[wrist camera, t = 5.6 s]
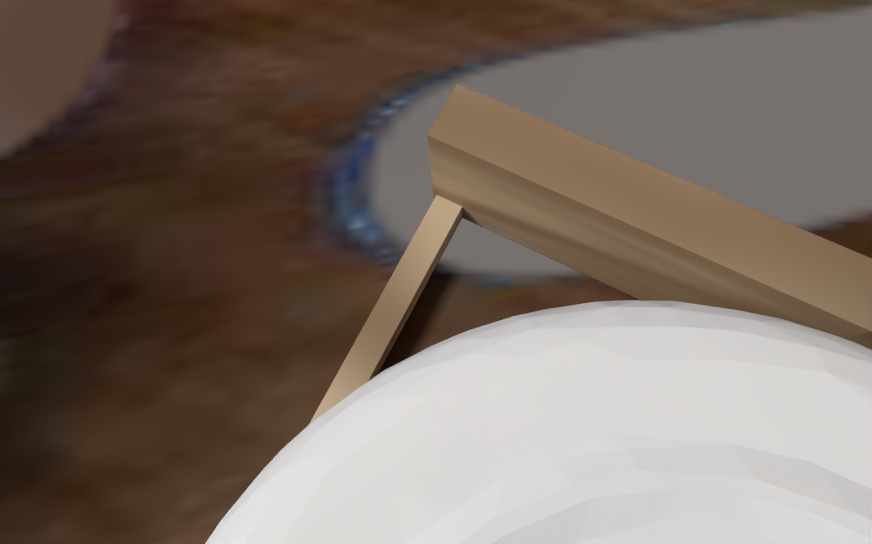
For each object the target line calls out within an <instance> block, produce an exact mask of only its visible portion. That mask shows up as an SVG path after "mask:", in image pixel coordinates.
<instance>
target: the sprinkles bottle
mask: <svg viewBox="0 0 872 544" xmlns="http://www.w3.org/2000/svg"><path fill="white" fill-rule="evenodd" d="M205 544H872V350H871V349H869V348H866V347H864V346H862V345H859V344H857V343H855V342H852V341H849V340H846V339H844V338H841V337H838V336H835V335H832V334H829V333H826V332H823V331H819V330H816V329H813V328H810V327H807V326H803V325H800V324H797V323H794V322H791V321H787V320H784V319H781V318H775V317H770V316H765V315H760V314H755V313H750V312H745V311H740V310H733V309H727V308H720V307H713V306H706V305H699V304H692V303H685V302H678V301H641V300H624V301H602V302H591V303H584V304H577V305H571V306H564V307H558V308H551V309H544V310H540V311H535V312H531V313H526V314H522V315H517V316H513V317H510V318H507V319H504V320H500V321H497V322H494V323H491V324H488V325H484V326H481V327H478V328H475V329H472V330H468V331H466V332H464V333H461V334H459V335H456V336H454V337H452V338H449V339H447V340H445V341H442V342H440V343H438V344H435V345H433V346H431V347H429V348H427V349H425V350H423V351H421V352H419V353H417V354H415V355H413V356H411V357H409V358H407V359H405V360H403V361H401V362H400V363H398V364H396V365H394V366H392V367H390V368H388V369H386V370H384V371H382V372H381V373H379V374H378V375H377V376H375V377H374V378H372V379H371V380H369V381H368V382H366V383H365V384H364V385H362V386H361V387H359V388H358V389H356V390H355V391H354V392H352V393H351V394H350V395H348V396H347V397H346V398H344V399H343V400H342V401H340V402H339V403H338V404H336V405H335V406H333V407H332V408H330V409H329V410H328V411H326V412H325V413H323V414H322V415H320V416H319V417H317V418H316V419H315V420H314V421H313V422H312V423H311V424H309V425H308V426H307V427H306V428H305V429H304V430H303V431H302V432H301V433H299V434H298V435H297V436H296V437H295V438H294V439H293V440H292V441H291V442H289V443H288V444H287V445H286V446H285V447H284V448H283V449H282V450H281V451H280V452H279V453H278V454H277V455H276V456H275V457H274V458H273V460H272V461H271V462H270V463H269V464H268V465H267V466H266V467H265V468H264V469H263V470H262V471H261V473H260V474H259V475H258V476H257V477H256V479H255V480H254V481H253V482H252V483H251V485H250V486H249V487H248V488H247V490H246V491H245V492H244V493H243V494H242V496H241V497H240V498H239V499H238V500H237V502H236V503H235V504H234V505H233V507H232V508H231V509H230V510H229V511H228V513H227V514H226V515H225V516H224V517H223V519H222V520H221V521H220V523H219V524H218V526H217V527H216V529H215V530H214V532H213V533H212V535H211V536H210V537H209V539H208V540H207V542H206V543H205Z"/></svg>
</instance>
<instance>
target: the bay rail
mask: <svg viewBox="0 0 872 544" xmlns="http://www.w3.org/2000/svg"><path fill="white" fill-rule="evenodd" d="M428 144H429V155H430V163H431V173H432V183H433V192H434V201H433V203H432V204H431V206H430V208H429V210H428V212H427V213H426V215H425V217H424V219H423V221H422V222H421V224H420V226H419V228H418V230H417V231H416V233H415V235H414V237H413V239H412V240H411V242H410V244H409V246H408V248H407V249H406V251H405V253H404V255H403V257H402V258H401V260H400V262H399V264H398V266H397V267H396V269H395V271H394V273H393V275H392V276H391V278H390V280H389V282H388V283H387V285H386V287H385V289H384V291H383V292H382V294H381V296H380V298H379V300H378V301H377V303H376V305H375V307H374V309H373V310H372V312H371V314H370V316H369V318H368V319H367V321H366V323H365V325H364V327H363V328H362V330H361V332H360V334H359V336H358V337H357V339H356V341H355V343H354V345H353V346H352V348H351V350H350V352H349V354H348V355H347V357H346V359H345V361H344V363H343V364H342V366H341V368H340V370H339V372H338V373H337V375H336V377H335V379H334V381H333V382H332V384H331V386H330V388H329V390H328V391H327V393H326V395H325V397H324V399H323V400H322V402H321V404H320V406H319V408H318V409H317V411H316V413H315V415H314V417H313V418H312V420H311V422H310V424H311V423H312V422H313V421H314V420H315V419H316V418H317V417H319V416H320V415H322V414H323V413H325V412H326V411H328V410H329V409H330V408H332V407H333V406H335V405H336V404H338V403H339V402H340V401H342V400H343V399H344V398H346V397H347V396H348V395H350V394H351V393H352V392H354V391H355V390H356V389H358V388H359V387H361V386H362V385H364V384H365V383H366V382H368V381H369V380H371V379H372V378H374V377H375V376H377V375H378V373H379V371H380V369H381V368H382V366H383V364H384V362H385V360H386V358H387V356H388V355H389V353H390V351H391V349H392V347H393V345H394V343H395V342H396V340H397V338H398V336H399V334H400V332H401V330H402V329H403V327H404V325H405V323H406V321H407V319H408V317H409V316H410V314H411V312H412V310H413V308H414V306H415V304H416V302H417V301H418V299H419V297H420V295H421V293H422V291H423V289H424V288H425V286H426V284H427V282H428V280H429V278H430V276H431V275H432V273H433V271H434V269H435V267H436V265H437V263H438V262H439V260H440V258H441V256H442V254H443V252H444V250H445V249H446V247H447V245H448V243H449V241H450V239H451V237H452V236H453V234H454V232H455V230H456V228H457V226H458V224H459V222H460V221H461V219H462V218H464V219H467V220H469V221H471V222H473V223H475V224H477V225H479V226H481V227H484V228H486V229H488V230H490V231H492V232H495V233H497V234H499V235H501V236H503V237H505V238H507V239H510V240H512V241H514V242H516V243H518V244H520V245H523V246H525V247H527V248H529V249H531V250H533V251H535V252H538V253H540V254H542V255H544V256H546V257H549V258H551V259H553V260H555V261H557V262H559V263H561V264H564V265H566V266H568V267H570V268H572V269H574V270H576V271H579V272H581V273H583V274H585V275H587V276H589V277H592V278H594V279H596V280H598V281H600V282H602V283H605V284H607V285H609V286H611V287H613V288H615V289H617V290H620V291H622V292H624V293H626V294H628V295H630V296H633V297H635V298H637V299H639V300H641V301H678V302H685V303H692V304H699V305H706V306H713V307H720V308H727V309H733V310H740V311H745V312H750V313H755V314H760V315H765V316H770V317H775V318H781V319H784V320H787V321H791V322H794V323H797V324H800V325H803V326H807V327H810V328H813V329H816V330H819V331H823V332H826V333H829V334H832V335H835V336H838V337H841V338H844V339H846V340H849V341H852V342H855V343H857V344H859V345H862V346H864V347H866V348H869V349H871V350H872V258H869V257H867V256H865V255H862V254H860V253H857V252H855V251H853V250H850V249H848V248H846V247H843V246H841V245H838V244H836V243H834V242H831V241H829V240H827V239H824V238H822V237H819V236H817V235H815V234H812V233H810V232H808V231H805V230H803V229H800V228H798V227H796V226H793V225H791V224H788V223H786V222H784V221H781V220H779V219H777V218H774V217H772V216H770V215H767V214H765V213H762V212H760V211H758V210H755V209H753V208H751V207H748V206H746V205H744V204H741V203H739V202H736V201H734V200H732V199H729V198H727V197H724V196H722V195H720V194H717V193H715V192H713V191H710V190H708V189H705V188H703V187H701V186H698V185H696V184H694V183H691V182H689V181H686V180H684V179H682V178H679V177H677V176H675V175H672V174H670V173H668V172H665V171H662V170H660V169H658V168H656V167H653V166H651V165H649V164H646V163H644V162H642V161H639V160H637V159H634V158H632V157H630V156H627V155H625V154H622V153H620V152H618V151H615V150H613V149H611V148H608V147H606V146H603V145H601V144H599V143H596V142H594V141H592V140H589V139H587V138H584V137H582V136H580V135H577V134H575V133H573V132H570V131H568V130H565V129H563V128H561V127H558V126H556V125H553V124H551V123H549V122H547V121H544V120H542V119H539V118H537V117H535V116H532V115H530V114H527V113H525V112H523V111H520V110H518V109H516V108H513V107H511V106H509V105H506V104H504V103H501V102H499V101H497V100H494V99H492V98H490V97H487V96H485V95H482V94H480V93H478V92H475V91H473V90H471V89H468V88H466V87H464V86H461V85H459V84H457V85H456V87H455V88H454V90H453V92H452V94H451V95H450V97H449V99H448V100H447V102H446V104H445V106H444V107H443V109H442V111H441V113H440V114H439V116H438V118H437V119H436V121H435V123H434V125H433V127H432V128H431V130H430V132H429V133H428Z"/></svg>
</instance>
